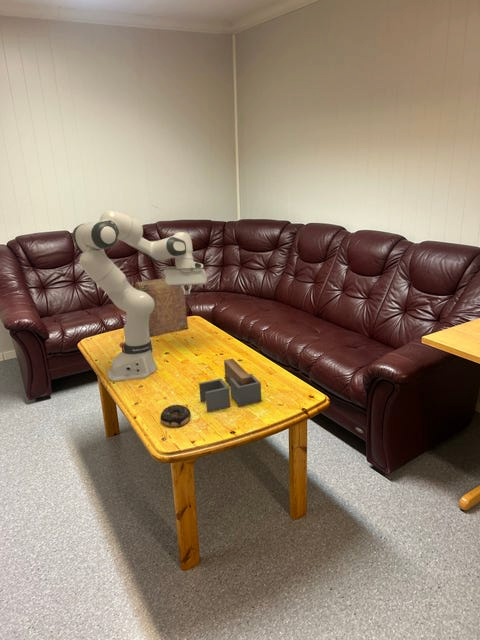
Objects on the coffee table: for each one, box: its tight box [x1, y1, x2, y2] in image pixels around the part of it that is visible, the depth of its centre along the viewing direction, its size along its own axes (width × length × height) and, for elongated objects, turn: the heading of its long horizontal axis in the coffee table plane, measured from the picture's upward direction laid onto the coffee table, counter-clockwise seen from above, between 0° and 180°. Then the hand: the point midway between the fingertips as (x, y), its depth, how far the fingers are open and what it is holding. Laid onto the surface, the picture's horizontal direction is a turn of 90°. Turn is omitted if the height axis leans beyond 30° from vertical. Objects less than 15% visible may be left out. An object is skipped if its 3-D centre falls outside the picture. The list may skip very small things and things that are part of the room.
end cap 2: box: [229, 373, 262, 407], centre depth 179 cm, size 9×9×8 cm
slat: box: [223, 358, 251, 387], centre depth 187 cm, size 4×20×10 cm, turn 22°
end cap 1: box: [198, 378, 231, 413], centre depth 177 cm, size 9×9×8 cm
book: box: [134, 277, 189, 338], centre depth 257 cm, size 25×9×30 cm, turn 120°
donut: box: [160, 404, 192, 428], centre depth 168 cm, size 11×12×4 cm
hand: (186, 294), depth 220 cm, fingers closed
